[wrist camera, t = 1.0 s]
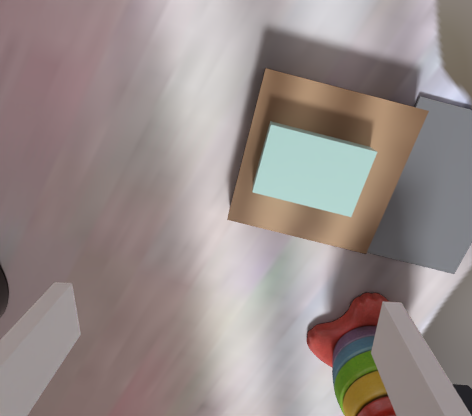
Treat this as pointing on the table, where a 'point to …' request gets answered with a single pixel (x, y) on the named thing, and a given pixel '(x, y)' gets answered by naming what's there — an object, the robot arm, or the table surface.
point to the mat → (432, 194)
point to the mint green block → (312, 169)
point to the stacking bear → (354, 357)
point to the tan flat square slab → (334, 125)
